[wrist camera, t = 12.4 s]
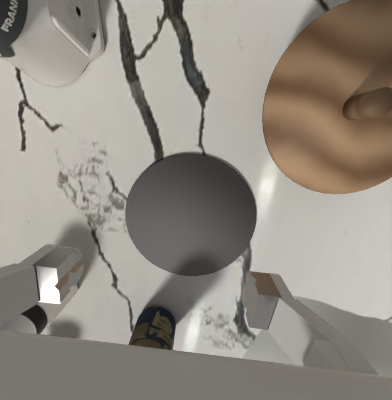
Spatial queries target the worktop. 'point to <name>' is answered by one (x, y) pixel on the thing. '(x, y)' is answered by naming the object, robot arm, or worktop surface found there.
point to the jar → (38, 316)
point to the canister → (154, 329)
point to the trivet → (190, 214)
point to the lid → (334, 101)
